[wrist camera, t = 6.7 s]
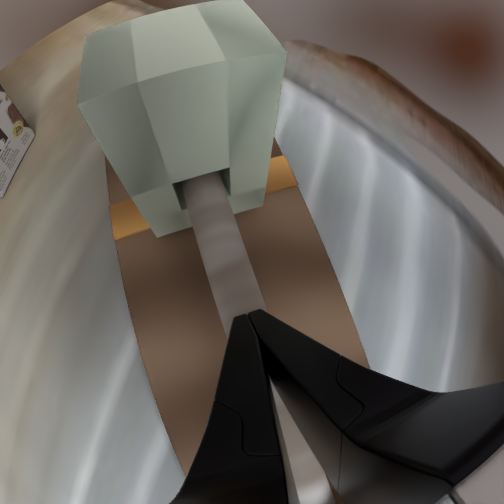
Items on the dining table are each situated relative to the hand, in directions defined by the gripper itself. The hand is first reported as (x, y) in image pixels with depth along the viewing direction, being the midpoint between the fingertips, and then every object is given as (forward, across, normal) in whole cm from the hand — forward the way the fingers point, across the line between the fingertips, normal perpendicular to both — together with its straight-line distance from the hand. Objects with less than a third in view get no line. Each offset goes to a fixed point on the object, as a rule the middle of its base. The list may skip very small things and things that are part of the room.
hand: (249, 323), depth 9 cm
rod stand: (+6, 0, +3) cm, 7 cm away
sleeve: (+8, 0, -2) cm, 9 cm away
